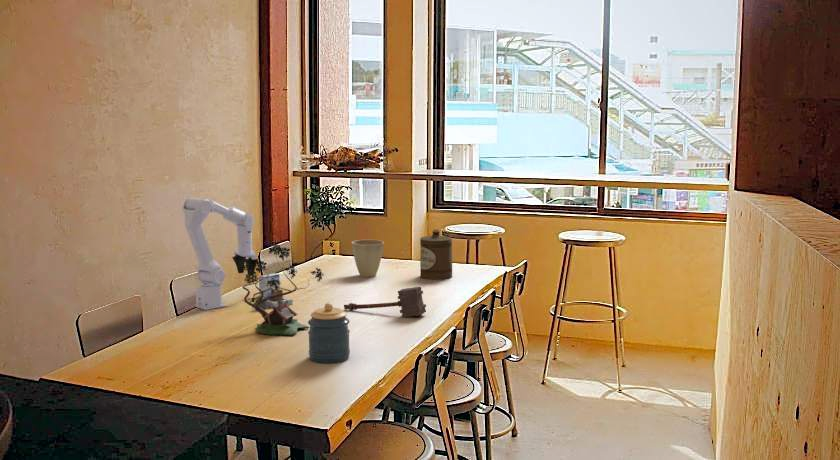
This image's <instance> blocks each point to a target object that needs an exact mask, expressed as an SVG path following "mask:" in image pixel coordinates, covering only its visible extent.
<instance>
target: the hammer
mask: <svg viewBox="0 0 840 460" xmlns="http://www.w3.org/2000/svg"><path fill="white" fill-rule="evenodd" d="M397 294H398V296H397V299H398V301H395V302H394V301H393V302H381V303H368V304H367V303H366V304H357V303H353V302H350V303H348V304H343V308H344V310H349V311H351V310H352V311H353V310H354V311H356V310H362V309H379V308H388V307H389V308H390V307H399V308H400V307H401V309H400V310H399V313H400V314H401V318H409V317H417V316H419V317H420V316H422V315H423V314H424V313H426V312H427V310H426V307H427V304H426V303H424V301H423V295H424V291H423V290H422V286H413V287H408V288H407V287H405V288H402V289H400V290H398V291H397Z"/></svg>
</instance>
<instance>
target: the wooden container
mask: <svg viewBox="0 0 840 460" xmlns="http://www.w3.org/2000/svg"><path fill="white" fill-rule="evenodd" d="M440 233H441V231H440V230H439V229H433V230H432V233H431V234H432V235H427V236H422V237H420V241H419V242H420V243H419V244H420V259H419V260H420V261H419V262H420V263H419V264H420V269H419V270H420V278H422V279H425V280H437V281H438V280H447V279H451V278H452V277H453V246H452V245H453V243H452V242H453V239H452V237H451V236H446V235H445V236H444V235H441V234H440Z"/></svg>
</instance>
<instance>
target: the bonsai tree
mask: <svg viewBox="0 0 840 460" xmlns="http://www.w3.org/2000/svg"><path fill="white" fill-rule="evenodd" d="M268 250H269V251H268V254H271V253H273V256H274V255H275V259H276V260H277V262H278V265H279V267H280V270H281V271H282V272H283V275H284V276H285V277H286V279H288V280H289V282H290V283H291V284H292V285H293V286H294V289H292V290H291V289H287V288H283V287H281V285H282V282H280V283H279V281H278V279H277V280H274V279H275V278H274V279H273V278H272V279H271V281H267V284H268V283H269V284H270V285H269V286H270V288H268V289H266V290H264V291H262V290H260V289H259V286H257V284H259V281H261V280H262V279H261V280H259V277H257V272H258V273H259V274H260V273H261V271H262V272H264V271H265V272H267V271H269V269H267V268H266V265H267V264H268V263H267V262H265V261H264V260H263V261H262V260H258V261H257V263H255V271H254V272H253V273H252V271H251V270H249V272H250V273H252V274H250V273H248V272H247V271H248V267H247V264H246V262H247V260H246V259H247V257H246V258H245V257H244V258H240V259H241V260H240V259H239V260H238V261H239V262H238V265H236V264H235V266H236V268H237V267H239V269H243V270H244V272H247V274H245V277H244V282H245V283H246V284H244V285H242V289H243V290H244V291H247V293H246V294H245V297H244V299H243V300H244V303H245V304H247V305H249V306H251V307H252V309H254V311H255V310H256V311H257V312H258V313H259V314H260V315H261V317H262V318H263V320H264V321H263V322H261V323H257V324H256V328H255V329H256V331H257V333H259V334H261V335H267V336H287V337H289V336H290V337H293V336H295V334H297V333H298V330H301V329H302V330H303V329H310V326H308V325H306V324H302V323H300V322H298V319H297V318H296V319H295V318H294V317H296V316H297V315H298V313H297V312H296V311H295V310H293V309H292V308H291V307H290V306H289V305H287V303H288V301H287V300H286V302H285V303H284V304H283V305H282V303H283V301H277V303H278V307H276V306H275V307H274V306H273V308H272V310H271V311H270V312H268V311H266V310H264V309H262V308H261V307H259V304H262V303H263V304H264V302H265V301H267V300H270V299H273V298H276V297H279V296H283V297H284V296H285V295H289V294H292V293H294V292H296V291H298V290H303V289H307V288H308V287H309V285H310V283H307V285H306V287H301V288H297V287H298V286H297V285H296V284H295V283H294V282H292V279H294V278H295V277H296V274H297V273H298V271H297V268H296V266H294V265H292V264H287V265H288V266H289V267H285V268H284V266H282V267H281V265H280V263H279V260H278V258H280V259H281V260H282V261H285V258H286V259H288V257H290V252H289V251H291V248H288V247H281V245H280V244H278V243H271V244H270V247H268ZM293 258H294V259H296V258H295V257H293ZM244 262H245V263H244ZM287 262H289V260H288V261H286V263H287ZM293 262H295V263H296V262H299V261H298V260H297V261H296V260H295V261H294V260H293ZM242 264H243V265H242ZM250 265H251V264H250ZM240 266H241V267H244V268H241V267H240ZM314 268H315V270H312V271H310V273H311V275H312V276H313V275H314V278H311V279H310V280H309V279H307V281H308V282H310V281H311V280H314V279H316V281H317V282H318V283H319V282H320V281H321V280H323V277H324V275H325V274H324V272H323V271H322V269H320V268H319V267H314ZM285 272H288V273H287V274H286V273H285ZM268 274H269V275H270V274H271V273H266V275H267V276H269V275H268ZM248 275H249V276H248ZM267 276H266V277H267ZM288 276H289V277H290V278H289V277H288ZM266 277H265V278H266ZM263 279H264V278H263ZM275 282H277V283H275ZM277 284H278V285H279V284H280V287H278V286H277ZM252 285H254V286H255V289H257V290H258V291H260V292H256V293H254V294H253V295H252V299H251V300H250V301H249V300H248V297H249V296H250V294H251V291H250V290H249V288H247V287H248V286H252ZM274 285H275V286H274ZM266 286H268V285H266ZM272 286H274V287H276V288H275V289H276V291H277V290H278V289H277V288H280V289H281V290H284V291H286V292H283V293H281V294H277V295H275V294H274V291H275V289H274V290H273V288H274V287H273V288H272ZM269 289H271V290H272V293H273V296H269V297H263V295H264V294H263V292H265V291H267V290H269ZM260 293H262V295H261V296H259V297H258V296H257V297H256V295H259V294H260ZM262 298H264V299H262Z"/></svg>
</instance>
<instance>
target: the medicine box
mask: <svg viewBox="0 0 840 460" xmlns="http://www.w3.org/2000/svg"><path fill="white" fill-rule="evenodd" d="M267 274H268V275H269V274H270V275H269V276H267ZM267 274H263V275H258V281H259V280H261V279H262V280H261V281H259V282H258V288H259V289H260V290H262V291H264V290H266V289H268V288H270V286H269V285H270V284H269V283H268V284H267V281H271V279H272V278H273V279H274V278H275V279H274V280H277V279H278V281H279V283H281V280H280V279H281V278H280V274H279V273H273V272H272V273H267ZM266 276H267V277H266ZM265 277H266V278H265ZM263 278H264V279H263ZM275 283H277V282H275ZM266 285H268V286H266ZM274 286H275V285H274ZM274 286H272V288H273V287H274ZM277 286H278V287H280V288H281V284H279V285H278V284H277ZM275 288H276V287H274V288H273V289H275ZM280 288H277V289H280ZM258 291H259V290H258ZM259 292H260V291H259ZM259 292H258V293H259ZM263 294H264V295H263V298H267V297H269V296H271V289H269V290H267V291H265V292H263ZM258 295H259V297H261V295H262V293H260V294H258Z"/></svg>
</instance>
